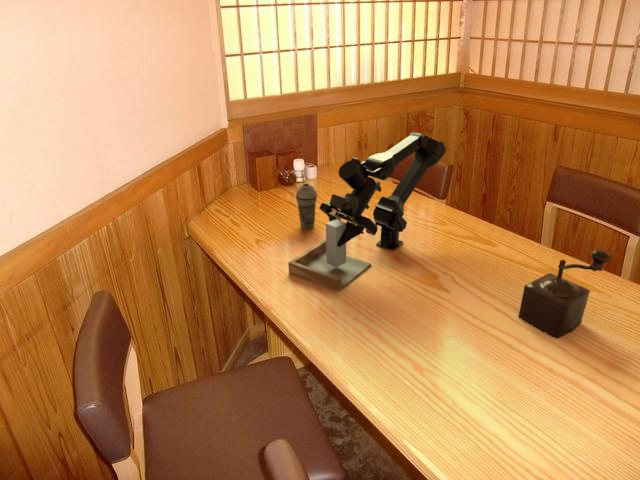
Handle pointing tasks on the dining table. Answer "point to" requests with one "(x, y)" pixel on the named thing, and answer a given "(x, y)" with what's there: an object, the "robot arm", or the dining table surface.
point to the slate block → (335, 243)
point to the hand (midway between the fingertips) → (332, 243)
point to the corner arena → (325, 268)
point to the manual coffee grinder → (558, 299)
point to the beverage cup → (306, 205)
